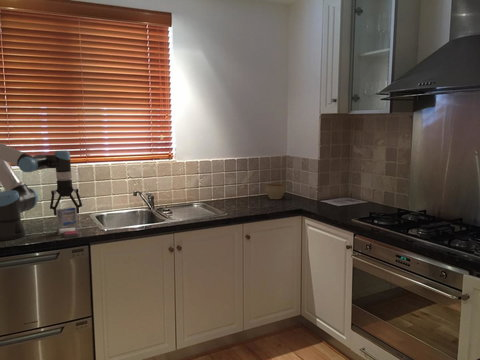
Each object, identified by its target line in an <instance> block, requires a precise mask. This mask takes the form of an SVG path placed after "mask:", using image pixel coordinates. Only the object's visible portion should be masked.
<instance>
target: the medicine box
mask: <svg viewBox="0 0 480 360" xmlns="http://www.w3.org/2000/svg"><path fill="white" fill-rule="evenodd" d="M75 208H76V207H73V206H69V207H64V208H57V209H58V226H63V227H64V226H65V227H66V226H69V225H72V224H76V223H77V220H76V215H75Z"/></svg>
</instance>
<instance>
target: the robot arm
mask: <svg viewBox="0 0 480 360" xmlns="http://www.w3.org/2000/svg"><path fill="white" fill-rule="evenodd" d="M71 162H72V161H71V155H70V151H69V150H55V151H54V154H34V155H30V154H28V153H26V152H23V151H21V150H18V149H17V148H13V147H12V146H9V145H7V144H5V143H2V142H0V184H1V185H2V187H3V188H4V190H3V191H0V241H10V240H12V241H13V240H16V239H17V240H18V239H20V238H24V237H25V236H26V235H27V233H26V231H27V230H26V229H25V227H24V224H23V222H22V220H21V213H24V212H27V211H30V210H32V209H34V208H35V207H36V205H37V204H38V201H39V197H38V196H39V195H38V194H37V192H36V190H34V189H33V188H29V187H28V185H27V184H26V183H25V182H22V181H21V180H20V178H19V176H18V175H17V173H15V170H14V169H13V167H12V166H11V165H10V164H12V165H13V166H17V167H18V168H19V169H20V170H21V172H24V173H32V172H37V171H40V170H41V171H42V170H46V169H47V170H48V169H51V170H52V169H54V170H55V177H56V189H55V190H53V189H52V190H51V191H50V193H51V199H50V203H49V204H50V205H49V209H50V210H53V215H54V216H56V222H57V223H59V221H58V209H59V208H58V205H59V203H60V201H61V199H62V198H65V197H69V198H70V199H71V202H72V203H73V204H74V206H75V207H74V208H75V215H76V221H78V214H80V208H81V207H83V203H82V200H81V197H80V193H79V188H74V187H73V180H72V177H73V176H72V168H71V167H72V166H71V164H72V163H71ZM73 192H74V194H75V196H76V199H77V201H78V202H77V201H76V199H75V198H74V196H73V194H72V193H73ZM56 193H57V194H58V198H57V200H56V202H55V205H54V200H55V195H56Z"/></svg>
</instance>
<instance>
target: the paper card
mask: <svg viewBox="0 0 480 360" xmlns="http://www.w3.org/2000/svg"><path fill="white" fill-rule="evenodd" d="M76 230H77V231H78V226H76V225H75V226H65V227H64V226H63V227H58V229H57V235H64V232H66V231H76Z"/></svg>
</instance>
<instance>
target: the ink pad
mask: <svg viewBox="0 0 480 360" xmlns="http://www.w3.org/2000/svg"><path fill="white" fill-rule="evenodd" d="M73 237H74V238H75V237H79V230H78V229H77V230H76V231H66V232H64V234H63V238H73Z"/></svg>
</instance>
